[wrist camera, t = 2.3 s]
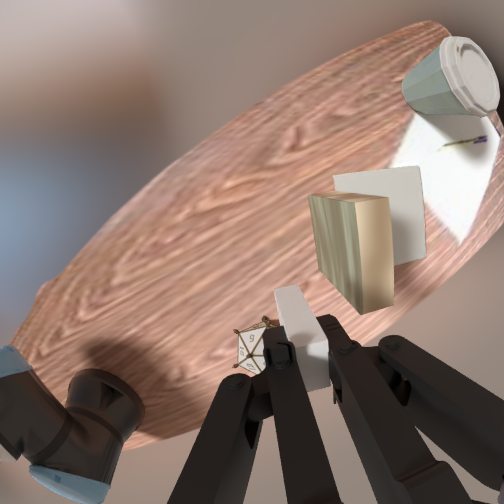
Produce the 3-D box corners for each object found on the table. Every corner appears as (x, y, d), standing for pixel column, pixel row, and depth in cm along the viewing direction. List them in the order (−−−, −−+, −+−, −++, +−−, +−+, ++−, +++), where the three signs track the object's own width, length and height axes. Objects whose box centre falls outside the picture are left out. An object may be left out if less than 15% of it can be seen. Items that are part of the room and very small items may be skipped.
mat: (345, 276, 37) (347, 278, 37) (332, 175, 34) (334, 175, 33) (423, 256, 37) (425, 257, 37) (416, 165, 34) (418, 165, 33)
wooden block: (318, 269, 37) (360, 315, 23) (307, 195, 34) (351, 203, 21) (343, 263, 37) (393, 304, 23) (333, 190, 34) (388, 197, 21)
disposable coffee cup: (444, 89, 31) (506, 70, 16) (434, 141, 33) (505, 134, 19) (395, 53, 29) (452, 16, 15) (381, 105, 32) (448, 76, 17)
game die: (268, 313, 42) (318, 318, 34) (266, 365, 41) (314, 381, 33) (216, 315, 37) (262, 324, 29) (216, 374, 36) (260, 397, 28)
